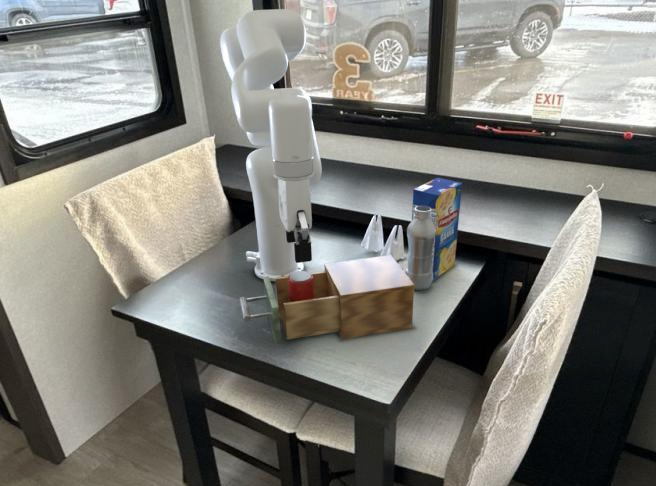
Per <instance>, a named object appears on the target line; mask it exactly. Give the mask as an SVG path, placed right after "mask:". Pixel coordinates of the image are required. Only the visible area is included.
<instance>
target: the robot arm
mask: <svg viewBox="0 0 656 486" xmlns="http://www.w3.org/2000/svg"><path fill="white" fill-rule="evenodd" d="M306 40H307V31H306V26H305V22H304V20H303V18H302V16H301V15H300V13H299V12H298V11H296V10H294V9H292V8H278V9H277V8H276V9H254V10H251V11H250V10H249V11H247V12H245V13H244V14H242V15H241V16H240V17H239V19H238V21H237V24H236V25H234V26H230V27H228V28H226V29H224V30H223V31H222V33H221V35H220V39H219V42H220V52H221V57H222V61H223V64H224V67H225V69H226V72H227V74H228V76H229V78H230V80H231V88H230V89H231V100H232V104H233V108H234V112H235V116H236V120H237V123H238V126H240V128H241V130H243V131H244V132H245V135H246V137H247V139H248V141H249V142H250V144H251V145H253V146H257V147H262V148H258V149H255V150H253V151H251V152H250V153H249V154H248V155H247V157H246V160H245V169H246V173H247V177H248V181H249V186H250V190H251V194H252V200H253V207H254V209H253V210H254V218H255V227H256V236H257V247H258V251H257V252H256V251H250V250H248V251H246V252H245V258H246V262H247V263H251V264H252V263H254V264H256V265H254V274H255V275H256V276H257V277H258V278H260V279H261V280H263V277H267V276H269V279H270V282H276V280H275V278H277V277H284V276H289V275H290V274H292V273H293V272H297V271H305V269H304V268H305V266H304V263H307V262H311V261H312V260H313V257H312V256H313V255H312V254H313V253H312V240H311V233H310V230H311V229H312V226H313V223H312V222H313V218H312V217H313V216H312V199H311V198H312V197H311V187H310V185H315V184H317V183H318V182H319V181H320V180H321V177H322V175H323V172H322V171H323V167H322V160H321V155H320V150H319V146H318V142H317V141H318V140H317V135H316V131H315V127H314V122H313V118H312V117H313V104H312V98H311V97H310V95H308V93H307V92H306V91H305V90H304V89H303V88H301V87H300V88H299V87H286V88H285V87H284V88H274V84H276V83H277V82H279V81H280V80H281V79H282V78H283V77H284V76H285V74H286V72H287V70H288V66H289V63H290V62H292V61H294V60H295V59H297V57H298V56H299V55H301V53H302V51H303V50H304V48H305V45H306Z"/></svg>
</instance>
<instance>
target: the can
mask: <svg viewBox="0 0 656 486" xmlns="http://www.w3.org/2000/svg"><path fill="white" fill-rule="evenodd" d="M310 273H311V272H308V271H306V270H303V271H297V272H293V273H292V274H290V275H289V276H288V289H289V302H296V301H303V300H310V299H314V290H313V276H312V274H310Z"/></svg>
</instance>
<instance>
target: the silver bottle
mask: <svg viewBox="0 0 656 486" xmlns="http://www.w3.org/2000/svg"><path fill="white" fill-rule="evenodd" d="M414 217H415V218H414V219H413V220H412V219H411V222H410V223H409V224H408V226H407V228H406V236H407V243H408V258H407V266H406V269H405V273H406V275H407V276H408V277H409V278H410V280H411V281H412V282H413V284H414V290H416V291H417V290H418V291H419V290H420V291H421V290H427V289H429V288H430V286H431V285H432V284H433V281H434V280H433V271H432V250H433V244H434V239H435V235H436V229H435V226H434V224H433V222H432V221H431V220H430V218H431V208H430V207H428V206H417V207H415V212H414Z"/></svg>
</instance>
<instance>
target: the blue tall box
mask: <svg viewBox="0 0 656 486" xmlns="http://www.w3.org/2000/svg"><path fill="white" fill-rule="evenodd" d="M462 190H463V182H459V181H455V180H450V179H446V178H441V177H436V178H434V179H431V180H430V181H427V182H426V183H424V184H421V185H420V186H418V187H415V188H413V189H412V191H413V192H412V209H411V210H412V211H411V221H412V220H413V219H414V218H415V217H414V212H415V207H417V206H428V207H430V208H431V218H430V220H431V221H432V222H433V224H434V226H435V229H436V235H435V239H434V244H433V250H432V271H433V281H434V280H436V279H437V278H438V277H439V276H441V275H443V274H444V273H446V272H448V270H450V269H451V268H452V267H454V266H455V261H456V251H457V243H458V241H457V240H458V231H459V221H460V212H461V211H460V210H461V202H462V201H461V200H462Z"/></svg>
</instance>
